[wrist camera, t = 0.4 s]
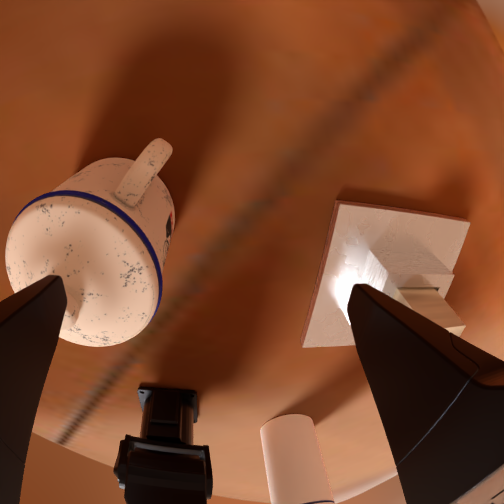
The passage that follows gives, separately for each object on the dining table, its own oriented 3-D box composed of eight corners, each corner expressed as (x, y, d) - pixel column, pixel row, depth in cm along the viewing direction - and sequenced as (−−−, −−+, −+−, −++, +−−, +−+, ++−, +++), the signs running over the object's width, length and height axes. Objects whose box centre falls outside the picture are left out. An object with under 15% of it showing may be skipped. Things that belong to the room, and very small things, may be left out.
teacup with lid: (138, 286, 25) (106, 404, 15) (48, 226, 21) (-31, 318, 11) (230, 170, 21) (245, 252, 11) (125, 93, 18) (34, 102, 8)
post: (402, 305, 28) (442, 364, 21) (366, 306, 27) (403, 371, 20) (417, 268, 26) (466, 324, 19) (380, 266, 25) (427, 329, 18)
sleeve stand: (416, 333, 32) (434, 360, 28) (300, 340, 30) (311, 375, 26) (464, 218, 25) (493, 239, 21) (335, 199, 23) (358, 223, 19)
